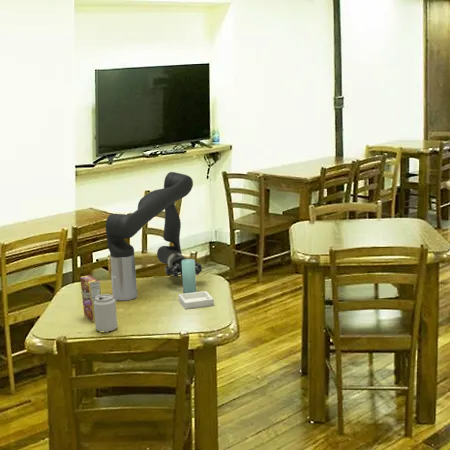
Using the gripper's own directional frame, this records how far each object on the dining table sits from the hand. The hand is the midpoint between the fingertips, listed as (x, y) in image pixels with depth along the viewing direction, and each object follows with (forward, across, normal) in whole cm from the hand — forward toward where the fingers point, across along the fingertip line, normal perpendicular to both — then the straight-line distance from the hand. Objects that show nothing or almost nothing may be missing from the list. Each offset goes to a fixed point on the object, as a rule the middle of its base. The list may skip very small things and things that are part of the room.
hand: (187, 273), depth 305 cm
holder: (+16, -1, +7) cm, 18 cm away
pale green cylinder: (+2, 0, +7) cm, 7 cm away
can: (+31, -37, +7) cm, 49 cm away
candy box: (+18, -40, +7) cm, 45 cm away
